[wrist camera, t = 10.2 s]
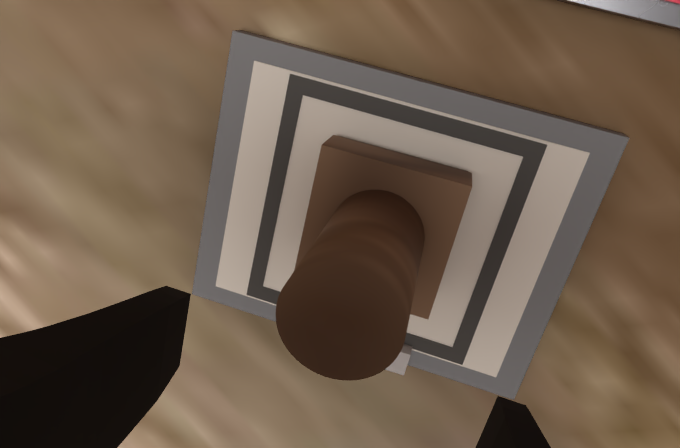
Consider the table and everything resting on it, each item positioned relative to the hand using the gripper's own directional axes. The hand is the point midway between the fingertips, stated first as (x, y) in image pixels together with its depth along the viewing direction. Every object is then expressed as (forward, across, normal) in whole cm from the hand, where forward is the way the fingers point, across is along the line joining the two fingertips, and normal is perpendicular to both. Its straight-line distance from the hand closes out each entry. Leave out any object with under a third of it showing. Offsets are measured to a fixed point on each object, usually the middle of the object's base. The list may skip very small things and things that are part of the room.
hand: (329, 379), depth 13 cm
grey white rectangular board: (+10, 0, 0) cm, 10 cm away
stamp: (+10, 0, -1) cm, 10 cm away
